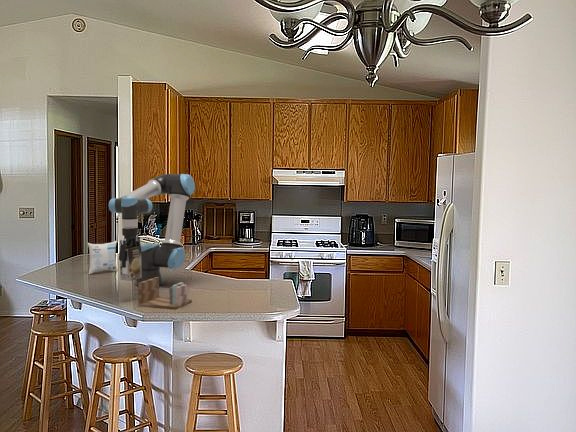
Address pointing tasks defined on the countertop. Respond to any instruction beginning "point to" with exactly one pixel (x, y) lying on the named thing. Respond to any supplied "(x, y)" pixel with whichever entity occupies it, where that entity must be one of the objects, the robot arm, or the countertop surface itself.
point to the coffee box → (132, 264)
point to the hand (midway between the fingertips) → (131, 271)
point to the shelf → (150, 297)
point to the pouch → (102, 257)
